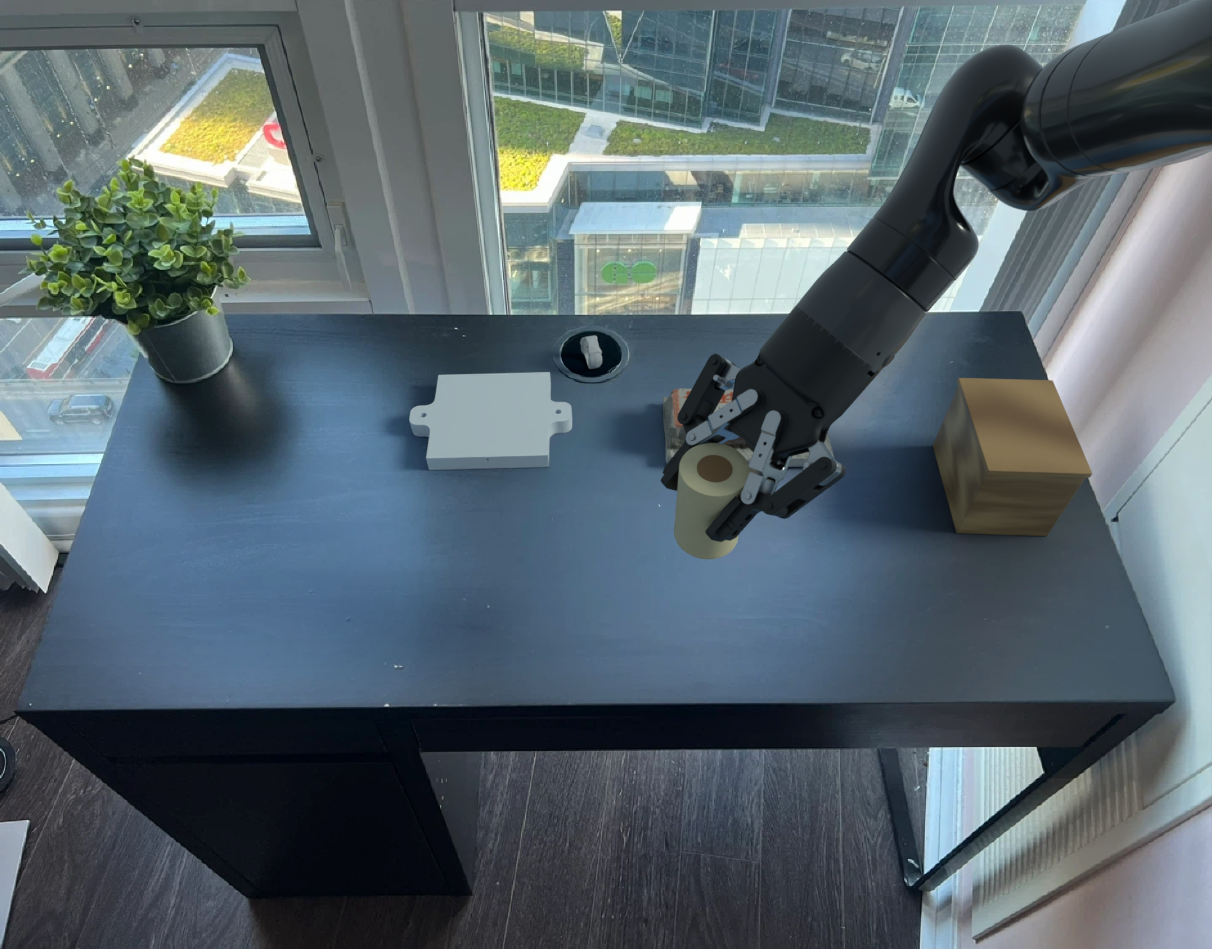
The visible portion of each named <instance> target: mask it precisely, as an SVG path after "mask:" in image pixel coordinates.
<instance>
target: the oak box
mask: <svg viewBox="0 0 1212 949" xmlns="http://www.w3.org/2000/svg"><path fill="white" fill-rule="evenodd" d="M956 384H957V387H956V390H955V392H954V394H953V397H952V399H951V402H950V404H949V406H948V408H947V411H946V413H945V416H944V418H943V419H942V420H943V421H942V423H941V425H940V427H939V429H938V432H937V434H936V437H935V438H934V440H933V444H932V448H933V452H934V456H935V460H936V464H937V466H938V471H939V474H940V477H941V481H942V485H943V488H944V493H945V496H946V500H947V504H948V507H949V510H950V514H951V518H952V522H953V525H954V529H955V532H956V534H970V535H973V534H974V535H999V536H1001V535H1002V536H1029V537H1031V536H1033V537H1048V535H1049V534H1050V533H1051V531H1052V529H1053V528H1054V526H1055V525H1056V523H1057V522H1058V520H1059V519H1060V517H1061V516H1062V514H1063V513H1064V511H1065V510H1066V508H1067V507H1068V505H1069V504H1070V502H1071V501H1072V499H1073V498H1074V497H1075V495H1076V493H1077V492H1078V490H1079V489H1080V487H1081V486H1082V484H1083V483H1084V481H1085V480H1086V478H1087V479H1090V478H1091V477H1092V476H1093V470H1091V467H1090V465H1089V461H1088V460H1087V458H1086V455H1085V453H1084V451H1083V448H1082V446H1081V443H1080V440H1079V439H1078V437H1077V434H1076V431H1075V429H1074V426H1073V425H1072V423H1071V420H1070V418H1069V415H1068V413H1067V411H1066V408H1065V406H1064V404H1063V401H1062V399H1061V396H1060V394H1059V392H1058V389H1057V387H1056V385H1055V382H1054V380H1051V379H1021V378H1020V379H1018V378H1016V379H1015V378H979V377H978V378H977V377H974V378H973V377H958V378H957V381H956Z"/></svg>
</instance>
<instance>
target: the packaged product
mask: <svg viewBox="0 0 1212 949" xmlns="http://www.w3.org/2000/svg"><path fill="white" fill-rule="evenodd" d="M733 389H734V388H730V389H729V390H726V391H725V393H724V395H723V396H722V398H721V400H720V402H719V404H718V405H717V407H716V409H715V411H714V412H716V411H717V410H719V409H721V408H722V407H724V406H725V405H727V404H729V403H730V402H732V395H733ZM691 390H692V388H685V387H684V388H683V387H682V388H681V387H680V388H674V389H673V388H672V390H671V391H670V394H669V396H663V397H662V419H663V420H662V421H663V431H664V440H665V462H666V464H667V463H668V462H669V461H670V459H671V458H672V457H673V456H674V454H675V453H676V452H677V451H678V450H679V448H680V447H681V446H682V445H683V443H684V442H685V440H686V432H685V430H684V427H683V425H682V424H680V423H679V422H678V419H677V417H678V413H679V412H680V410H681V408H682V406H683V404H684V402H685V401H686V399H687V397H688V395H689V393H690V392H691ZM723 444H724V445H727V446H730V447H732V448H734V449H736V450H737V451H739V452H740V453H741V454H742V455H743V456H744V457H745V458H746V460H747V462H748V464H749V462H750V460H751V457H752V455H753V452H752V451H751V450H750V449H749V447H748V445H747V444H746V442H745V440H744V439H743V438H741V437H738V438H736V439H733V440H728V441H726V442H724V443H723ZM824 444H825V446H826V447H827V449H828V450H829V451H830V453H831V454H832V456H833V457H834V458H835V455H834V451H833V447H832V444H831V439H830V435H829V432H828V433H827V436H826V440H825V442H824ZM808 457H809V452H806V453H802V454H799V455H795V456H792V459H791V461H790V464H789V466H788V468H793V467H795V468H796V467H797V468H798V467H800V468H801V467H802V468H803V464H804V462H805V461H806V460H807V459H808ZM771 461H772V460H770V462H771Z"/></svg>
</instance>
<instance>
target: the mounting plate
mask: <svg viewBox="0 0 1212 949" xmlns="http://www.w3.org/2000/svg"><path fill="white" fill-rule="evenodd" d="M551 381H552V379H551V372H550V371H541V372H537V371H536V372H501V373H500V372H499V373H495V372H493V373H460V374H459V373H458V374H438V376H437V382H436V388H435V395H434V400H433V402H431V403H430V404H425V405H424V404H423V405H416V406H414V407H413V408H412V409H411V410H410V413H409V419H408V421H409V425H410V428H411V432H412V434H413V435H414V436H415V437H419V438H421V437H422V438H423V437H425V438H428V442H427V443H428V444H427V450H426V454H425V460H426V463H427V464H426V465H427V467H428V471H444V470H445V471H448V470H449V471H451V470H452V471H453V470H489V469H490V470H491V469H524V468H525V469H526V468H529V469H530V468H531V469H532V468H549V467H550V444H551V443H550V441H551V437H552V436H554V435H556V434H566V433H570V432H571V430H572V429H573V410H572V408H573V407H572V405H571V404H570V403H569V402H565V401H554V400H552V398H551V396H552V395H551V394H552V382H551Z"/></svg>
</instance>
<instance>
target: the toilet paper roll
mask: <svg viewBox="0 0 1212 949" xmlns="http://www.w3.org/2000/svg"><path fill="white" fill-rule="evenodd" d="M748 466H749V464H748V462H747V460H746V458H745V457H744V456H743V455H742V454H741V453H740V452H739V451H737V450H736V449H734V448H732V447H730V446H727V445H724V444H719V443H705V444H701V445H697V446H695V447H693V448H691V449H690V450H688V451H687V452H686V453H685V454H684V455H683V457H682V459H681V461H680V464H679V475H678V487H677V491H676V500H675V511H674V512H675V514H674V526H673V537H674V540H675V543H676V544H677V545H678V547H679V548H680V549H681V550H682V551H683V552H685V553H686V554H687V555H689V556H691V557H692V558H693V557H694V558H696V559H699V560H716V559H720V558H723V557H726V556H727V555H728V554H730V553H731V552H732V551H733V550H734V549H735V547H736V546H737V544H738V541H739V537H740V534H739V535H738V536H737V537H736V538H735V539H733V540H731V541H729V540H725V541H723V542H718V541H714V540H711V539H710V538H709V537H708V535H707V534H706V533H705V531H706V529H707V528H708V527H709V526H710V525H711V523H712V522H713V521H714V520H715V519H716V518H717V516H718V515H719V514H720V513H721V512H722V511H723V509H724V508H725V507H726V506H727V505H728V504H729V502H730V501H731V500H732V499H733V498H734V497H735V496H737V497H741V492H742V490H743V487H744V485H745V482H746V480H747V477H748V475H749V468H748Z"/></svg>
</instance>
